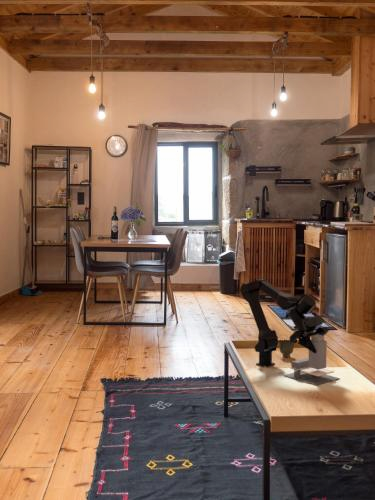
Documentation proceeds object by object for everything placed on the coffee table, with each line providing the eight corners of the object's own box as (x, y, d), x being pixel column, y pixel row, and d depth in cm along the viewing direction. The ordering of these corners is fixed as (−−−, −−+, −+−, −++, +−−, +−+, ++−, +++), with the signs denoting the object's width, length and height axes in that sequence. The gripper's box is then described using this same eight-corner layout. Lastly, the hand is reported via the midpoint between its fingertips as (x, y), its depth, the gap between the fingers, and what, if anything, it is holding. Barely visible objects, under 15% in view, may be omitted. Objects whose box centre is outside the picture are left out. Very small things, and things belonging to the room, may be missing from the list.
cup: (295, 359, 252) (295, 342, 252) (279, 358, 253) (280, 342, 252) (292, 355, 260) (292, 339, 260) (277, 355, 260) (277, 339, 260)
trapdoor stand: (283, 376, 223) (283, 366, 223) (307, 370, 232) (307, 361, 232) (316, 385, 209) (316, 375, 209) (339, 379, 218) (339, 369, 218)
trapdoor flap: (290, 368, 223) (290, 361, 223) (306, 365, 229) (306, 358, 229) (318, 376, 211) (318, 368, 211) (334, 372, 217) (334, 365, 217)
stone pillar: (308, 366, 218) (308, 335, 217) (316, 365, 221) (317, 334, 220) (318, 369, 214) (318, 337, 213) (326, 367, 217) (326, 336, 216)
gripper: (295, 311, 214) (316, 343, 205) (325, 307, 225) (346, 337, 216) (280, 327, 221) (300, 359, 212) (310, 322, 232) (330, 353, 223)
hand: (320, 351), depth 216 cm, fingers closed on stone pillar, 5 cm apart
